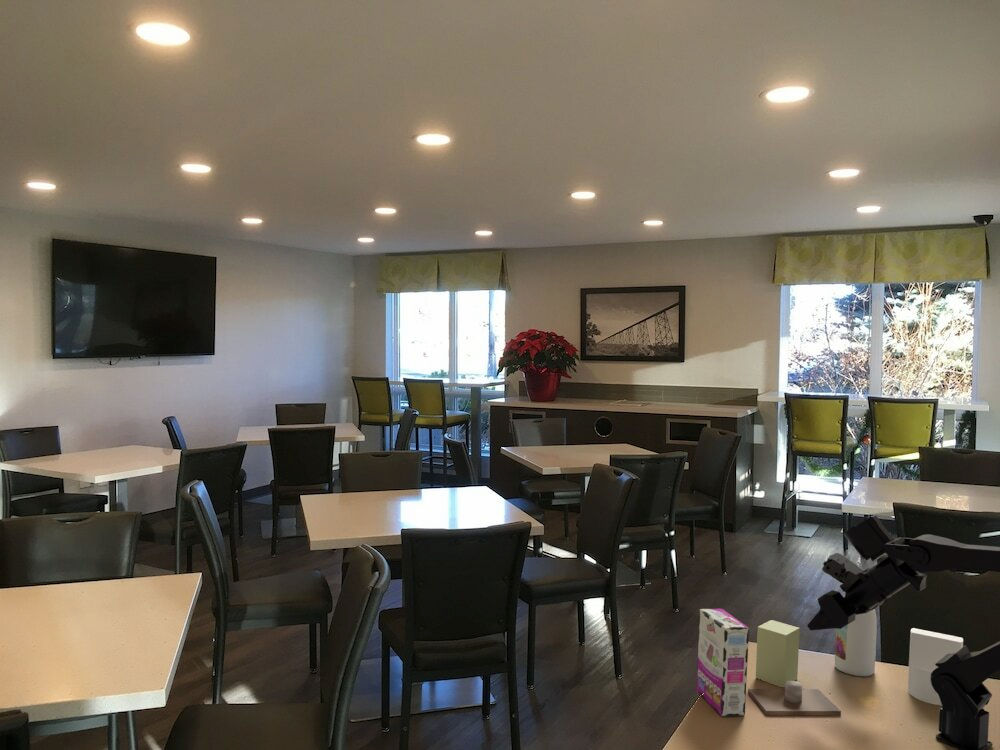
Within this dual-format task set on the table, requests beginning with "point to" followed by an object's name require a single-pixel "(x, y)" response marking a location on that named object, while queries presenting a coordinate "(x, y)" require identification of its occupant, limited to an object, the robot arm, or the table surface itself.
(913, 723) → the table surface
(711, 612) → the candy bar box
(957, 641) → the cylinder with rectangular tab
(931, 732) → the table surface
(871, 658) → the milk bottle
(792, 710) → the walnut stud board
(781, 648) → the pale green upright block
